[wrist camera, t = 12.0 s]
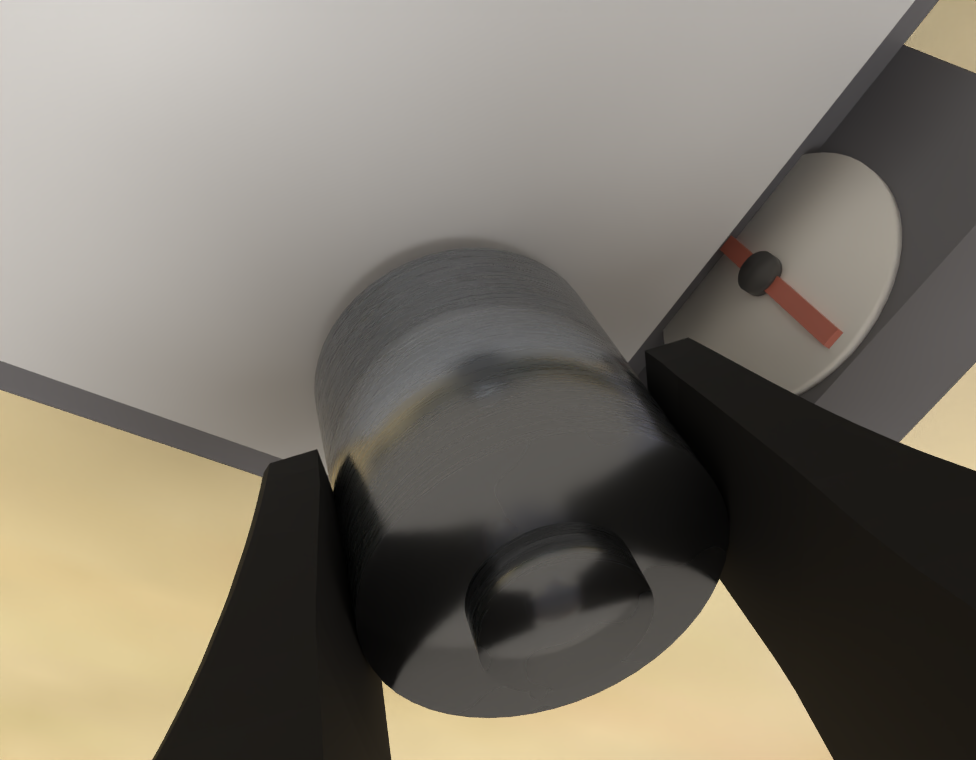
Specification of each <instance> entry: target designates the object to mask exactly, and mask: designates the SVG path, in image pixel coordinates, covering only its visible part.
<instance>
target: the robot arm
mask: <svg viewBox="0 0 976 760" xmlns="http://www.w3.org/2000/svg"><path fill="white" fill-rule="evenodd" d="M645 362H646V374H647V387H648V391H649V393H650V394H651V395H652V397H653V398H654V399H655V401H656V402H657V404H658V405H659V406H660V408H661V409H662V410H663V412H664V413H665V415H666V416H667V417H668V419H669V420H670V421H671V423H672V424H673V426H674V427H675V428H676V430H677V431H678V432H679V434H680V435H681V437H682V438H683V439H684V441H685V442H686V443H687V445H688V446H689V447H690V449H691V450H692V452H693V453H694V454H695V456H696V457H697V458H698V460H699V461H700V463H701V464H702V465H703V467H704V468H705V469H706V471H707V472H708V474H709V475H710V476H711V478H712V479H713V481H714V482H715V484H716V486H717V488H718V489H719V491H720V493H721V495H722V498H723V501H724V503H725V506H726V509H727V515H728V522H729V545H728V550H727V555H726V560H725V564H724V567H723V570H722V573H721V575H720V578H719V579H720V580H721V582H722V583H723V584H724V586H725V587H726V589H727V590H728V592H729V593H730V594H731V596H732V597H733V599H734V600H735V602H736V603H737V605H738V606H739V607H740V609H741V610H742V612H743V613H744V615H745V616H746V617H747V619H748V620H749V622H750V623H751V625H752V626H753V628H754V629H755V630H756V632H757V633H758V635H759V636H760V638H761V639H762V640H763V642H764V643H765V645H766V646H767V648H768V649H769V651H770V652H771V653H772V655H773V656H774V658H775V659H776V661H777V662H778V664H779V665H780V667H781V669H782V670H783V672H784V673H785V675H786V676H787V678H788V680H789V681H790V683H791V684H792V686H793V688H794V689H795V691H796V693H797V694H798V696H799V698H800V700H801V701H802V703H803V705H804V707H805V709H806V711H807V712H808V714H809V716H810V718H811V720H812V721H813V723H814V725H815V727H816V729H817V730H818V732H819V734H820V736H821V738H822V739H823V741H824V743H825V745H826V747H827V748H828V750H829V752H830V754H831V756H832V757H833V759H834V760H976V471H974V470H971V469H969V468H966V467H963V466H960V465H957V464H955V463H952V462H949V461H946V460H943V459H941V458H938V457H935V456H932V455H929V454H927V453H924V452H922V451H919V450H917V449H914V448H912V447H909V446H906V445H904V444H902V443H899V442H897V441H895V440H892V439H890V438H888V437H885V436H883V435H881V434H878V433H876V432H874V431H872V430H869V429H867V428H865V427H862V426H860V425H858V424H856V423H853V422H851V421H849V420H847V419H845V418H843V417H841V416H838V415H836V414H834V413H832V412H830V411H828V410H826V409H824V408H822V407H820V406H818V405H816V404H814V403H811V402H809V401H808V400H806V399H804V398H802V397H800V396H798V395H796V394H794V393H792V392H790V391H788V390H786V389H784V388H782V387H780V386H778V385H776V384H774V383H773V382H771V381H769V380H767V379H765V378H763V377H761V376H760V375H758V374H756V373H754V372H752V371H750V370H748V369H746V368H745V367H743V366H741V365H739V364H737V363H735V362H734V361H732V360H730V359H728V358H726V357H724V356H723V355H721V354H719V353H717V352H715V351H713V350H712V349H710V348H708V347H706V346H704V345H702V344H700V343H698V342H696V341H694V340H692V339H690V338H685V339H681V340H678V341H675V342H671V343H668V344H665V345H661V346H658V347H655V348H651V349H648V350H645ZM152 760H391V754H390V746H389V738H388V729H387V721H386V713H385V704H384V696H383V688H382V680H381V679H380V678H379V676H378V675H377V674H376V673H375V672H374V671H373V669H372V668H371V666H370V664H369V663H368V661H367V659H366V657H365V656H364V654H363V650H362V647H361V644H360V641H359V638H358V634H357V628H356V623H355V617H354V612H353V606H352V600H351V593H350V587H349V581H348V575H347V569H346V563H345V556H344V548H343V542H342V537H341V531H340V526H339V521H338V515H337V510H336V504H335V499H334V494H333V490H332V487H331V484H330V482H329V479H328V476H327V474H326V471H325V468H324V466H323V463H322V460H321V458H320V455H319V452H318V449H316V450H312V451H309V452H306V453H302V454H299V455H296V456H292V457H289V458H286V459H282V460H279V461H276V462H272V463H270V464H269V465H268V467H267V468H266V470H265V471H264V473H263V478H262V483H261V488H260V492H259V497H258V501H257V505H256V509H255V513H254V516H253V520H252V524H251V527H250V530H249V534H248V537H247V541H246V544H245V547H244V550H243V553H242V556H241V559H240V562H239V565H238V568H237V571H236V574H235V577H234V580H233V583H232V586H231V589H230V592H229V595H228V597H227V600H226V603H225V605H224V608H223V611H222V613H221V615H220V618H219V620H218V623H217V625H216V628H215V630H214V632H213V635H212V637H211V640H210V642H209V645H208V647H207V650H206V652H205V654H204V657H203V659H202V662H201V664H200V666H199V668H198V671H197V673H196V675H195V677H194V679H193V681H192V684H191V686H190V688H189V690H188V692H187V694H186V696H185V698H184V700H183V702H182V705H181V707H180V709H179V711H178V712H177V714H176V716H175V718H174V720H173V722H172V724H171V726H170V728H169V730H168V732H167V734H166V736H165V738H164V740H163V741H162V743H161V745H160V747H159V749H158V751H157V752H156V754H155V756H154V758H153V759H152Z"/></svg>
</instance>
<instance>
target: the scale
mask: <svg viewBox="0 0 976 760" xmlns="http://www.w3.org/2000/svg"><path fill="white" fill-rule="evenodd" d="M938 1H939V0H0V390H3V391H6V392H9V393H12V394H15V395H18V396H21V397H24V398H27V399H30V400H33V401H36V402H39V403H42V404H45V405H48V406H51V407H54V408H57V409H60V410H63V411H66V412H69V413H72V414H75V415H78V416H81V417H84V418H87V419H90V420H93V421H96V422H99V423H102V424H105V425H108V426H111V427H114V428H117V429H120V430H123V431H126V432H129V433H132V434H135V435H138V436H141V437H144V438H147V439H150V440H153V441H156V442H159V443H162V444H165V445H168V446H171V447H174V448H177V449H180V450H183V451H186V452H189V453H192V454H195V455H198V456H201V457H204V458H207V459H210V460H213V461H216V462H219V463H222V464H225V465H228V466H231V467H234V468H237V469H240V470H243V471H246V472H249V473H252V474H255V475H258V476H261V477H263V473H264V471H265V470H266V468H267V467H268V465H269V464H270V463H272V462H276V461H279V460H282V459H286V458H289V457H292V456H296V455H299V454H302V453H306V452H309V451H312V450H316V449H318V452H319V455H320V458H321V460H322V463H323V466H324V468H325V471H326V474H327V476H328V470H327V465H326V459H325V454H324V449H323V443H322V438H321V432H320V427H319V421H318V416H317V410H316V403H315V395H314V387H315V373H316V368H317V363H318V359H319V356H320V353H321V350H322V347H323V344H324V342H325V340H326V338H327V336H328V334H329V332H330V330H331V328H332V327H333V325H334V324H335V322H336V321H337V319H338V318H339V317H340V315H341V314H342V312H343V311H344V310H345V309H346V308H347V306H348V305H349V304H350V303H351V302H352V301H353V300H354V299H355V298H356V297H357V296H358V295H359V294H360V293H361V292H362V291H364V290H365V289H366V288H367V287H368V286H369V285H371V284H372V283H373V282H375V281H376V280H378V279H379V278H381V277H382V276H384V275H385V274H387V273H388V272H390V271H392V270H394V269H396V268H398V267H400V266H402V265H404V264H406V263H407V262H410V261H413V260H416V259H418V258H421V257H424V256H426V255H430V254H434V253H438V252H443V251H447V250H455V249H463V248H490V249H497V250H505V251H509V252H513V253H517V254H520V255H524V256H526V257H529V258H531V259H533V260H536V261H538V262H540V263H542V264H544V265H545V266H547V267H548V268H550V269H552V270H553V271H555V272H556V273H557V274H558V275H560V276H561V277H562V278H563V279H564V280H566V281H567V282H568V283H569V284H570V286H571V287H572V288H573V289H574V290H575V291H576V293H577V294H578V295H579V296H580V298H581V299H582V300H583V302H584V303H585V305H586V306H587V307H588V309H589V310H590V311H591V313H592V314H593V316H594V317H595V318H596V320H597V321H598V322H599V324H600V325H601V327H602V328H603V329H604V331H605V332H606V333H607V335H608V336H609V338H610V339H611V340H612V342H613V343H614V344H615V346H616V347H617V349H618V350H619V351H620V353H621V354H622V355H623V357H624V358H625V360H626V361H627V362H628V364H629V365H630V366H631V368H632V369H633V371H634V372H635V373H636V375H637V376H638V377H639V379H640V380H641V382H642V383H643V384H644V386H645V387H646V388H647V390H648V387H647V374H646V362H645V350H648V349H651V348H655V347H658V346H661V345H665V344H668V343H671V342H675V341H678V340H681V339H685V338H690V339H692V340H694V341H696V342H698V343H700V344H702V345H704V346H706V347H708V348H710V349H712V350H713V351H715V352H717V353H719V354H721V355H723V356H724V357H726V358H728V359H730V360H732V361H734V362H735V363H737V364H739V365H741V366H743V367H745V368H746V369H748V370H750V371H752V372H754V373H756V374H758V375H760V376H761V377H763V378H765V379H767V380H769V381H771V382H773V383H774V384H776V385H778V386H780V387H782V388H784V389H786V390H788V391H790V392H792V393H794V394H796V395H798V396H800V397H802V398H804V399H806V400H808V401H809V402H811V403H814V404H816V405H818V406H820V407H822V408H824V409H826V410H828V411H830V412H832V413H834V414H836V415H838V416H841V417H843V418H845V419H847V420H849V421H851V422H853V423H856V424H858V425H860V426H862V427H865V428H867V429H869V430H872V431H874V432H876V433H878V434H881V435H883V436H885V437H888V438H890V439H892V440H895V441H897V442H900V441H901V440H902V439H903V438H904V437H905V436H906V435H907V434H908V432H909V431H910V430H911V429H912V428H913V427H914V426H915V425H916V424H917V423H918V422H919V421H920V420H921V419H922V418H923V417H924V416H925V415H926V414H927V413H928V412H929V411H930V410H931V409H932V408H933V406H934V405H935V404H936V403H937V402H938V401H939V400H940V399H941V398H942V397H943V396H944V395H945V394H946V393H947V392H948V391H949V390H950V389H951V388H952V387H953V386H954V385H955V384H956V383H957V382H958V380H959V379H960V378H961V377H962V376H963V375H964V374H965V373H966V372H967V371H968V370H969V369H970V368H971V367H972V366H973V365H974V364H975V363H976V73H974V72H971V71H968V70H966V69H963V68H961V67H958V66H956V65H953V64H951V63H948V62H946V61H943V60H941V59H938V58H935V57H933V56H930V55H928V54H925V53H923V52H920V51H918V50H915V49H913V48H910V47H908V46H905V45H903V44H904V43H905V42H906V41H907V39H908V38H909V37H910V36H911V34H912V33H913V32H914V31H915V29H916V28H917V27H918V26H919V24H920V23H921V22H922V21H923V19H924V18H925V17H926V16H927V14H928V13H929V12H930V11H931V10H932V8H933V7H934V6H935V5H936V3H937V2H938ZM328 479H329V476H328ZM329 482H330V481H329Z"/></svg>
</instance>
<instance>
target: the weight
mask: <svg viewBox="0 0 976 760" xmlns="http://www.w3.org/2000/svg"><path fill="white" fill-rule="evenodd" d="M314 395H315V403H316V410H317V416H318V421H319V427H320V432H321V438H322V443H323V449H324V454H325V459H326V465H327V470H328V476H329V481H330V484H331V487H332V490H333V494H334V499H335V504H336V510H337V515H338V521H339V526H340V531H341V537H342V542H343V548H344V556H345V563H346V569H347V575H348V581H349V587H350V593H351V600H352V606H353V612H354V617H355V623H356V628H357V634H358V638H359V641H360V644H361V647H362V650H363V654H364V656H365V657H366V659H367V661H368V663H369V664H370V666H371V668H372V669H373V671H374V672H375V673H376V674H377V675H378V676H379V678H380V679H381V680H382V681H383V682H384V683H385V684H386V685H388V686H389V687H390V688H391V689H392V690H394V691H395V692H396V693H397V694H399V695H401V696H403V697H404V698H406V699H408V700H410V701H411V702H413V703H416V704H418V705H421V706H423V707H426V708H428V709H431V710H435V711H438V712H442V713H446V714H451V715H458V716H465V717H479V718H497V717H513V716H520V715H526V714H533V713H538V712H542V711H546V710H550V709H555V708H558V707H561V706H564V705H567V704H571V703H574V702H577V701H579V700H582V699H584V698H587V697H589V696H592V695H594V694H596V693H599V692H601V691H603V690H605V689H607V688H609V687H611V686H613V685H615V684H617V683H618V682H620V681H622V680H623V679H625V678H627V677H628V676H630V675H632V674H634V673H635V672H637V671H638V670H640V669H641V668H642V667H644V666H645V665H647V664H648V663H649V662H651V661H652V660H654V659H655V658H656V657H657V656H659V655H660V654H661V653H662V652H663V651H664V650H666V649H667V648H668V647H669V646H670V645H671V644H672V643H673V642H674V641H675V640H676V639H677V638H678V637H679V636H680V635H681V634H682V633H683V632H684V631H685V630H686V629H687V628H688V627H689V626H690V624H691V623H692V622H693V621H694V619H695V618H696V617H697V616H698V615H699V613H700V612H701V610H702V609H703V607H704V606H705V604H706V603H707V601H708V600H709V598H710V596H711V594H712V593H713V591H714V589H715V587H716V585H717V583H718V581H719V578H720V575H721V573H722V570H723V567H724V564H725V560H726V555H727V550H728V545H729V522H728V515H727V509H726V506H725V503H724V501H723V498H722V495H721V493H720V491H719V489H718V488H717V486H716V484H715V482H714V481H713V479H712V478H711V476H710V475H709V474H708V472H707V471H706V469H705V468H704V467H703V465H702V464H701V463H700V461H699V460H698V458H697V457H696V456H695V454H694V453H693V452H692V450H691V449H690V447H689V446H688V445H687V443H686V442H685V441H684V439H683V438H682V437H681V435H680V434H679V432H678V431H677V430H676V428H675V427H674V426H673V424H672V423H671V421H670V420H669V419H668V417H667V416H666V415H665V413H664V412H663V410H662V409H661V408H660V406H659V405H658V404H657V402H656V401H655V399H654V398H653V397H652V395H651V394H650V393H649V391H648V390H647V388H646V387H645V386H644V384H643V383H642V382H641V380H640V379H639V377H638V376H637V375H636V373H635V372H634V371H633V369H632V368H631V366H630V365H629V364H628V362H627V361H626V360H625V358H624V357H623V355H622V354H621V353H620V351H619V350H618V349H617V347H616V346H615V344H614V343H613V342H612V340H611V339H610V338H609V336H608V335H607V333H606V332H605V331H604V329H603V328H602V327H601V325H600V324H599V322H598V321H597V320H596V318H595V317H594V316H593V314H592V313H591V311H590V310H589V309H588V307H587V306H586V305H585V303H584V302H583V300H582V299H581V298H580V296H579V295H578V294H577V293H576V291H575V290H574V289H573V288H572V287H571V286H570V284H569V283H568V282H567V281H566V280H564V279H563V278H562V277H561V276H560V275H558V274H557V273H556V272H555V271H553V270H552V269H550V268H548V267H547V266H545V265H544V264H542V263H540V262H538V261H536V260H533V259H531V258H529V257H526V256H524V255H520V254H517V253H513V252H509V251H505V250H497V249H490V248H463V249H455V250H447V251H443V252H438V253H434V254H430V255H426V256H424V257H421V258H418V259H416V260H413V261H410V262H407V263H406V264H404V265H402V266H400V267H398V268H396V269H394V270H392V271H390V272H388V273H387V274H385V275H384V276H382V277H381V278H379V279H378V280H376V281H375V282H373V283H372V284H371V285H369V286H368V287H367V288H366V289H365V290H364V291H362V292H361V293H360V294H359V295H358V296H357V297H356V298H355V299H354V300H353V301H352V302H351V303H350V304H349V305H348V306H347V308H346V309H345V310H344V311H343V312H342V314H341V315H340V317H339V318H338V319H337V321H336V322H335V324H334V325H333V327H332V328H331V330H330V332H329V334H328V336H327V338H326V340H325V342H324V344H323V347H322V350H321V353H320V356H319V359H318V363H317V368H316V373H315V387H314Z"/></svg>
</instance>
